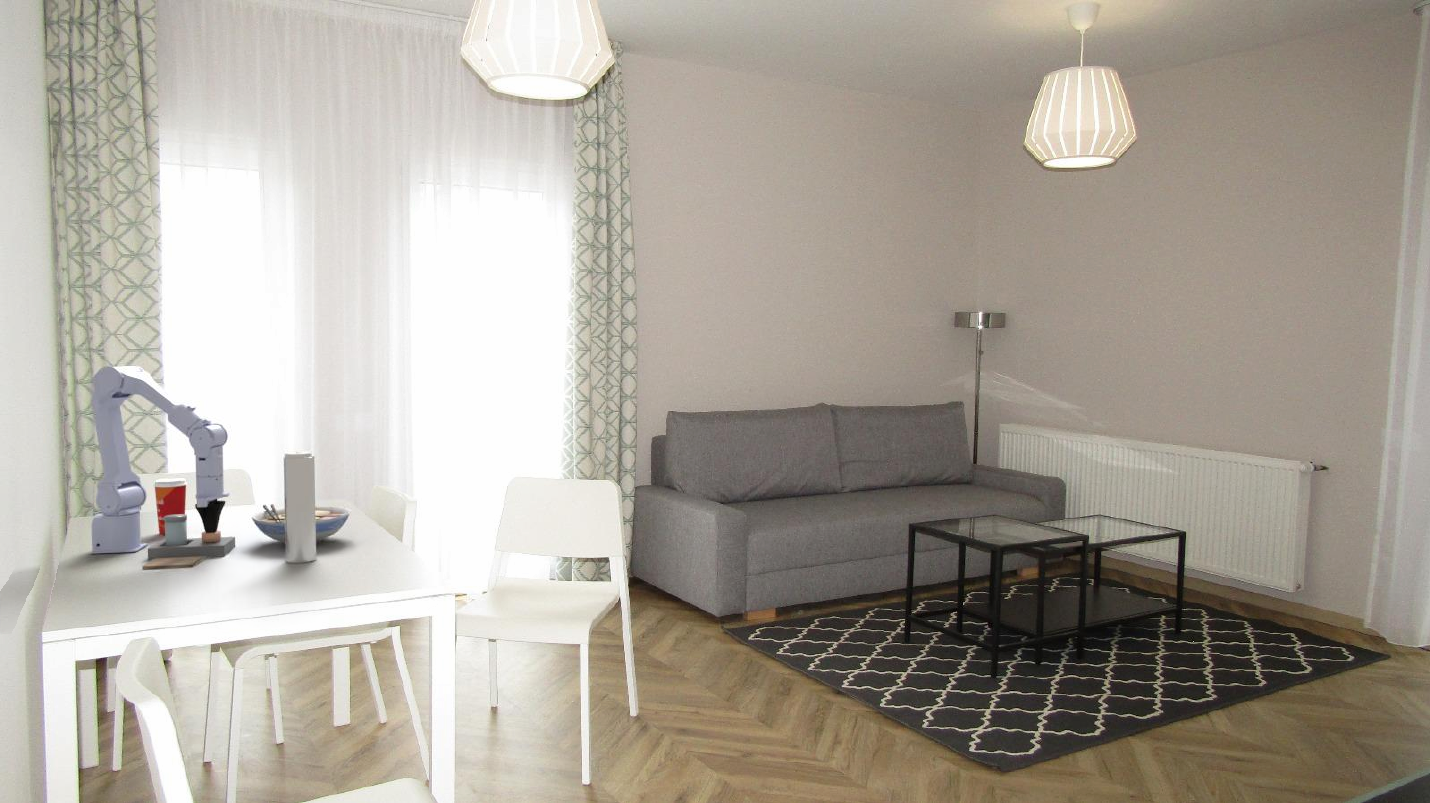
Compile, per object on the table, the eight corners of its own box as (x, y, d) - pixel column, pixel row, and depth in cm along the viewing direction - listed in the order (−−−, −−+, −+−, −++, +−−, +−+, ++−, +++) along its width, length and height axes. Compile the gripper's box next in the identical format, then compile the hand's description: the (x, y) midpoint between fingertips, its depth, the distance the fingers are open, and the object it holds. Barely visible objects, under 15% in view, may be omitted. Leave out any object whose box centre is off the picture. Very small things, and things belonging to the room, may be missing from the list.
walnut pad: (142, 569, 204) (142, 566, 204) (154, 560, 212) (154, 558, 212) (192, 566, 207) (192, 564, 207) (203, 558, 215) (203, 556, 215)
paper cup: (156, 531, 245) (155, 478, 244) (189, 529, 248) (188, 477, 247) (152, 537, 237) (151, 482, 237) (187, 534, 241) (185, 481, 240)
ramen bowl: (359, 547, 228) (359, 514, 227) (255, 557, 216) (254, 522, 216) (344, 529, 249) (343, 499, 249) (249, 537, 238) (248, 506, 238)
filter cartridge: (162, 556, 217) (161, 518, 216) (168, 551, 221) (167, 514, 221) (184, 555, 218) (183, 517, 217) (190, 551, 222) (189, 513, 222)
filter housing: (148, 559, 214) (147, 548, 213) (162, 549, 223) (162, 539, 223) (224, 555, 218) (224, 545, 217) (235, 546, 227) (235, 536, 227)
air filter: (304, 564, 210) (302, 454, 209) (279, 562, 212) (277, 453, 210) (322, 557, 217) (320, 451, 215) (297, 556, 218) (295, 450, 216)
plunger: (199, 542, 219) (199, 534, 219) (204, 539, 223) (204, 530, 223) (218, 541, 220) (218, 533, 220) (222, 538, 224) (222, 530, 224)
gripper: (220, 479, 214) (221, 537, 215) (236, 470, 228) (237, 525, 229) (186, 480, 213) (187, 539, 213) (204, 471, 227) (205, 526, 227)
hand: (211, 532), depth 221 cm, fingers closed, pressing on plunger
